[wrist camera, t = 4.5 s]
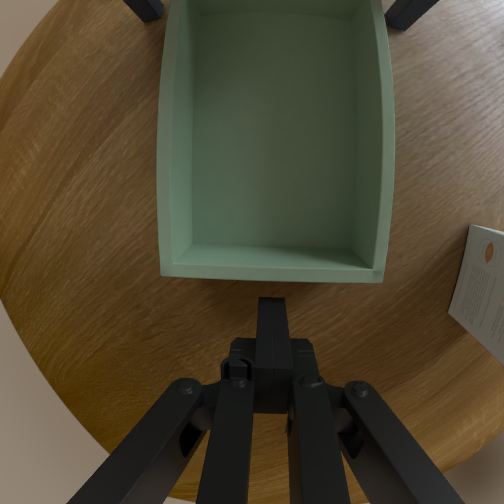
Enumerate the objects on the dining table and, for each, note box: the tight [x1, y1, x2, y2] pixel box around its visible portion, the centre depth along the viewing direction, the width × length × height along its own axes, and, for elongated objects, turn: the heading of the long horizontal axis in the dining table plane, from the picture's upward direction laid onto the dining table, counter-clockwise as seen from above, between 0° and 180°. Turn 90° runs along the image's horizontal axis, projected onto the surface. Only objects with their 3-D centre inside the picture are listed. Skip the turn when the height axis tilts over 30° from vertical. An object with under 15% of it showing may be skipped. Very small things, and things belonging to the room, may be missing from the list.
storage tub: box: [156, 0, 395, 283], centre depth 14 cm, size 18×12×5 cm, turn 179°
